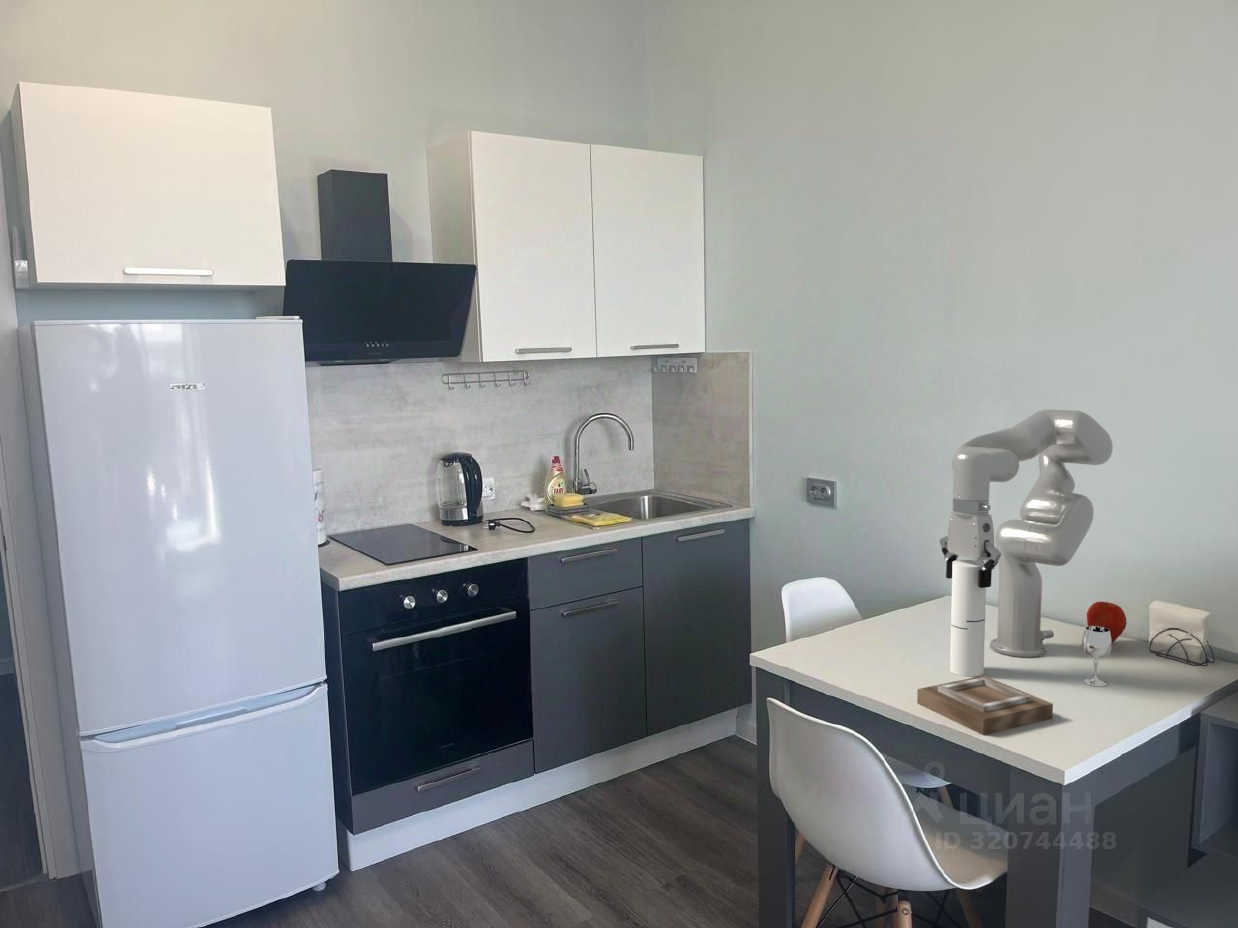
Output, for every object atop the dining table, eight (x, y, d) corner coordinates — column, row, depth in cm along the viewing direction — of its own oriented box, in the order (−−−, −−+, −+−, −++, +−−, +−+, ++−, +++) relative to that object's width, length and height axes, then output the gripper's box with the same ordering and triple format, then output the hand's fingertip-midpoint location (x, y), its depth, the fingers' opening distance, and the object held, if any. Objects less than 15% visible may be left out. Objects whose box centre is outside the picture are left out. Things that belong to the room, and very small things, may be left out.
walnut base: (983, 688, 201) (983, 670, 200) (1052, 718, 185) (1053, 698, 184) (917, 702, 194) (917, 684, 193) (983, 734, 177) (983, 714, 177)
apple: (1131, 645, 227) (1133, 602, 226) (1113, 652, 222) (1115, 608, 221) (1097, 637, 234) (1098, 595, 233) (1078, 643, 229) (1080, 600, 228)
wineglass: (1098, 689, 199) (1100, 634, 198) (1074, 681, 204) (1076, 627, 203) (1116, 684, 202) (1118, 630, 201) (1091, 676, 207) (1094, 623, 206)
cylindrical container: (986, 677, 208) (989, 567, 205) (952, 675, 209) (955, 566, 206) (980, 666, 215) (983, 559, 212) (947, 665, 216) (950, 559, 213)
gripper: (1013, 511, 201) (1010, 589, 203) (955, 500, 217) (952, 572, 219) (987, 513, 198) (984, 592, 200) (929, 502, 214) (927, 576, 216)
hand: (968, 582), depth 209 cm, fingers open, 9 cm apart
